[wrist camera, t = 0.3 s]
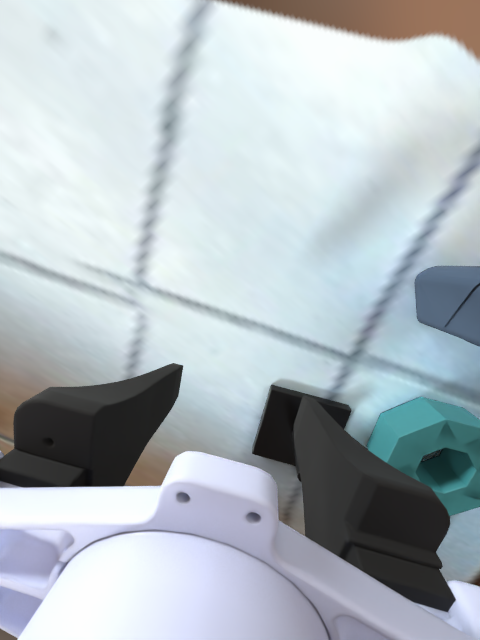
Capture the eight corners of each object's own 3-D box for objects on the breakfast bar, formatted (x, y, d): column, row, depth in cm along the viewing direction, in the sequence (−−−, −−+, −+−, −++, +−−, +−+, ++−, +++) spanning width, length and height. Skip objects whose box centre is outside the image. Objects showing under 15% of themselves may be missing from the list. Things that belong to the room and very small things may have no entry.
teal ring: (447, 492, 25) (475, 526, 21) (356, 466, 25) (370, 496, 22) (493, 415, 22) (532, 441, 19) (391, 388, 23) (412, 409, 20)
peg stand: (323, 467, 26) (340, 526, 20) (252, 447, 26) (248, 499, 20) (348, 404, 24) (375, 450, 18) (270, 384, 24) (272, 422, 18)
